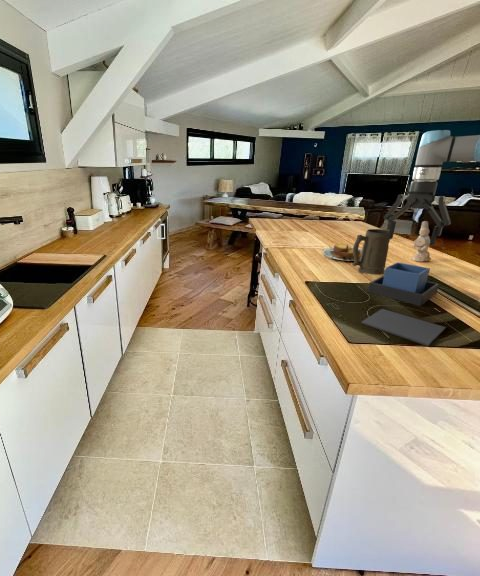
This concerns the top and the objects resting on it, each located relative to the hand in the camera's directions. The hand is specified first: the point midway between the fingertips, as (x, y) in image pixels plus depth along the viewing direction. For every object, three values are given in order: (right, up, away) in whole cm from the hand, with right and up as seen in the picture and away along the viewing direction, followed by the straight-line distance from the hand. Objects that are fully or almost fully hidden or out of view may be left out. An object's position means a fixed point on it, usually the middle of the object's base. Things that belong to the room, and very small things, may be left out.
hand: (410, 241), depth 115 cm
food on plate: (+5, 0, +57) cm, 57 cm away
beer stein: (+1, -10, +32) cm, 33 cm away
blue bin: (+1, -19, +5) cm, 20 cm away
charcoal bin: (+1, -20, +6) cm, 20 cm away
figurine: (+40, -3, +49) cm, 64 cm away
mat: (-14, -29, -17) cm, 36 cm away
